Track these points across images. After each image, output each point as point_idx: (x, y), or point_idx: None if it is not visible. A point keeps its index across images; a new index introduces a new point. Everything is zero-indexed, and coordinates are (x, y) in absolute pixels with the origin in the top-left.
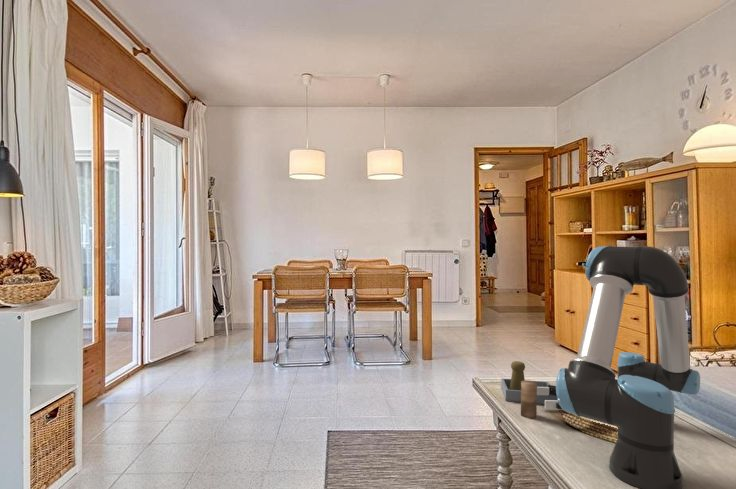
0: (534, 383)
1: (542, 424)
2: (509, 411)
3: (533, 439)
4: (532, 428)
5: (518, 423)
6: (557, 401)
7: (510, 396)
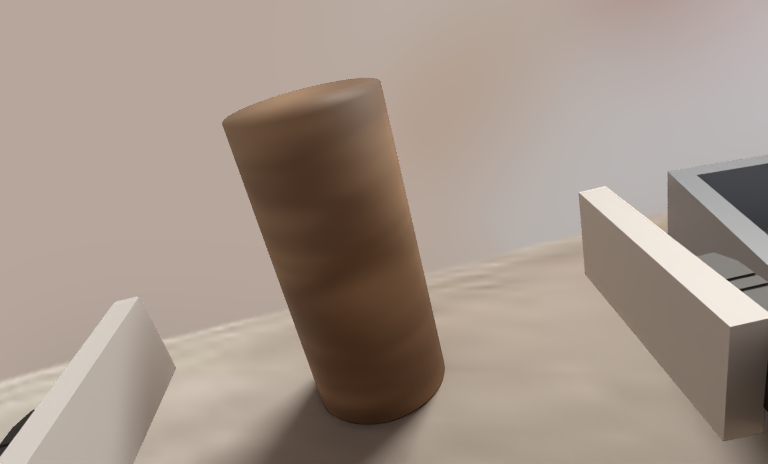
0: (272, 117)
1: (197, 453)
2: (438, 287)
3: (14, 391)
4: None
5: (239, 331)
6: (48, 393)
7: (683, 236)
